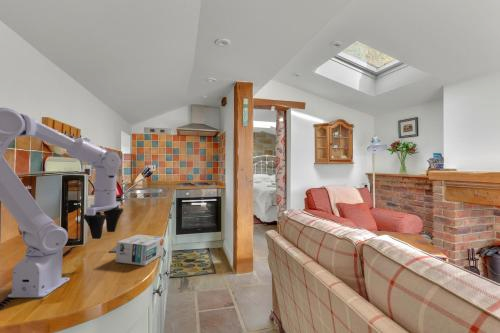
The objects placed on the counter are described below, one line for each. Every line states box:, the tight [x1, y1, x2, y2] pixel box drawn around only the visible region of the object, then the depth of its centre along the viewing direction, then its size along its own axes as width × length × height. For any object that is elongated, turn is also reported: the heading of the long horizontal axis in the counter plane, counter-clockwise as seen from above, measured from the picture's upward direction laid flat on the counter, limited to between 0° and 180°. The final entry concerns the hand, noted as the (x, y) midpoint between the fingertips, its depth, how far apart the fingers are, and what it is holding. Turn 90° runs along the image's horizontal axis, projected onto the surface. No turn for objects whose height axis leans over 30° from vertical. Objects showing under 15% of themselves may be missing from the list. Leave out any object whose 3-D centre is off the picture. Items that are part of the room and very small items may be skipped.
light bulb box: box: [115, 233, 165, 267], centre depth 83 cm, size 11×7×11 cm
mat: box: [108, 245, 117, 253], centre depth 95 cm, size 12×9×1 cm
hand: (104, 235), depth 75 cm, fingers open, 7 cm apart
